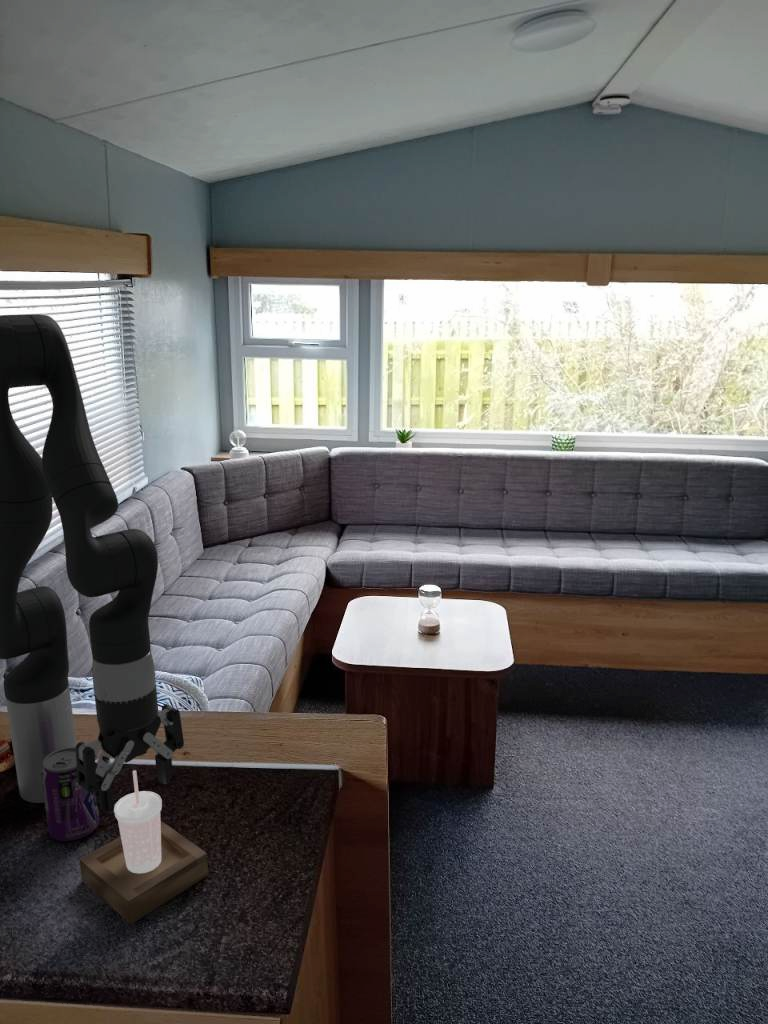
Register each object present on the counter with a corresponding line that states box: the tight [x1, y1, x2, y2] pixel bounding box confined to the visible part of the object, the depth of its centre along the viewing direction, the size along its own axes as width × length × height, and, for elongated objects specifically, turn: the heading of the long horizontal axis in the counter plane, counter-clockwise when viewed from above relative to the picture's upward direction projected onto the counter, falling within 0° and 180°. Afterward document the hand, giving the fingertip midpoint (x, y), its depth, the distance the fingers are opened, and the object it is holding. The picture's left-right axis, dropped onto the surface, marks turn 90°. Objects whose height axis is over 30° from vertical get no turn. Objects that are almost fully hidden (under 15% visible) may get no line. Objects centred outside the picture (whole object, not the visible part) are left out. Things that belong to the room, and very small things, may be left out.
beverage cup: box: [113, 769, 163, 874], centre depth 113 cm, size 6×6×14 cm
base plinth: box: [78, 819, 209, 925], centre depth 115 cm, size 12×12×4 cm
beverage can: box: [41, 747, 100, 842], centre depth 124 cm, size 7×7×12 cm
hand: (136, 795), depth 112 cm, fingers open, 8 cm apart
